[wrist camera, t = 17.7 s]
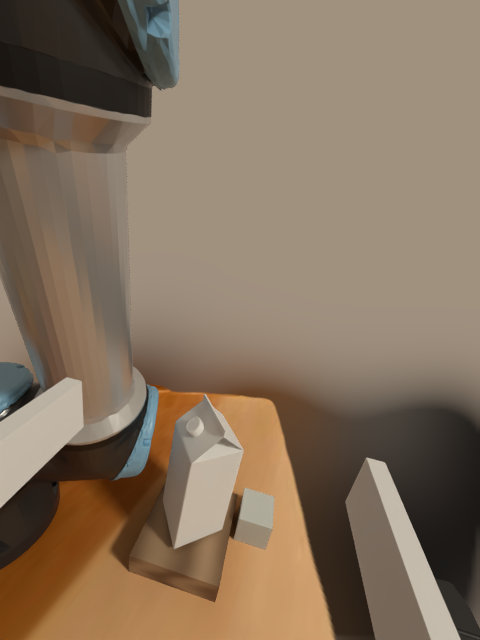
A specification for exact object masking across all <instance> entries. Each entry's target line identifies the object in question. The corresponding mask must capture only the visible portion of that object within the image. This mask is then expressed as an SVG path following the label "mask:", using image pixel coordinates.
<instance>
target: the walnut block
mask: <svg viewBox="0 0 480 640" xmlns="http://www.w3.org/2000/svg"><path fill="white" fill-rule="evenodd" d="M165 483H166V482H165ZM164 489H165V484H164V486H163V488H162V490H161V492H160V494H159V496H158V498H157V500H156V502H155V505H154V507H153V509H152V511H151V513H150V515H149V517H148V519H147V521H146V523H145V525H144V527H143V529H142V531H141V533H140V535H139V537H138V539H137V541H136V543H135V545H134V547H133V549H132V551H131V553H130V555H129V572H132V573H135V574H138V575H140V576H143V577H146V578H149V579H152V580H154V581H157V582H160V583H163V584H165V585H168V586H171V587H174V588H177V589H179V590H182V591H185V592H188V593H191V594H193V595H196V596H199V597H202V598H204V599H207V600H210V601H213V602H215V600H216V597H217V593H218V589H219V585H220V580H221V575H222V570H223V564H224V559H225V554H226V549H227V544H228V539H229V534H230V529H231V524H232V519H233V514H234V509H235V504H236V499H237V495H236V494H233V493H232V495H231V499H230V502H229V506H228V509H227V513H226V517H225V520H224V524H223V528H222V530H220V531H218V532H215V533H213V534H210V535H208V536H205V537H203V538H200V539H198V540H195V541H193V542H190V543H188V544H186V545H183V546H181V547H178V548H176V549H174V548H173V545H172V540H171V536H170V531H169V527H168V522H167V518H166V513H165V509H164V504H163V495H164Z"/></svg>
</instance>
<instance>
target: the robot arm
mask: <svg viewBox="0 0 480 640" xmlns="http://www.w3.org/2000/svg"><path fill="white" fill-rule="evenodd" d="M178 4H179V3H178V0H0V278H1V281H2V283H3V286H4V289H5V292H6V294H7V297H8V299H9V302H10V305H11V308H12V311H13V313H14V316H15V319H16V321H17V324H18V327H19V329H20V332H21V335H22V337H23V340H24V343H25V346H26V348H27V351H28V354H29V356H30V359H31V362H32V364H33V367H34V370H35V373H36V375H37V378H38V381H39V383H36V382H33V374H32V373H30V371H29V369H28V368H25V367H24V366H23V365H21V364H17V363H9V362H0V569H2V568H3V567H5V566H7V565H8V564H10V563H11V562H12V561H14V560H15V559H17V558H18V557H19V556H21V555H22V554H23V553H24V552H25V551H27V550H28V549H29V548H30V547H31V546H32V545H33V544H34V543H35V542H36V541H37V540H38V539H39V538H40V536H41V535H42V534H43V533H44V531H45V530H46V529H47V527H48V526H49V524H50V523H51V521H52V519H53V517H54V515H55V513H56V511H57V508H58V505H59V500H60V490H59V482H58V481H78V480H99V479H109V480H114V481H115V480H117V479H119V478H126V477H134V476H136V475H138V474H139V473H141V472H142V470H143V469H144V467H145V465H146V462H147V459H148V455H149V451H150V446H151V439H152V435H153V432H154V426H155V420H156V414H157V407H158V396H159V393H158V390H157V388H156V387H153V386H150V385H146V384H145V380H144V378H143V376H142V375H141V374H140V372H139V371H138V370H137V369H136V368H135V367H133V366H132V337H131V336H132V334H131V301H130V269H129V236H128V204H127V170H126V150H127V146H128V144H129V143H130V142H131V141H133V140H134V139H135V138H136V137H137V136H138V135H139V134H140V133H141V132H142V131H143V130H144V129H145V128H146V127H147V126H148V125H149V124H150V123H151V98H152V86H156V87H157V88H158V89H159V90H161V88H162V89H166V88H173V87H175V85H176V84H177V82H178V78H179V6H178ZM346 506H347V511H348V516H349V520H350V525H351V529H352V534H353V538H354V543H355V547H356V552H357V556H358V561H359V566H360V570H361V575H362V579H363V584H364V588H365V593H366V597H367V602H368V607H369V611H370V616H371V620H372V624H373V629H374V634H375V638H376V640H480V628H479V626H478V624H477V622H476V620H475V618H474V616H473V614H472V612H471V610H470V608H469V607H468V605H467V604H466V603H465V601H464V600H463V598H462V597H461V596H460V594H459V593H458V592H457V590H456V589H455V588H454V586H453V585H452V583H449V582H446V581H442V580H439V579H436V578H434V576H433V574H432V571H431V569H430V567H429V565H428V562H427V560H426V557H425V555H424V553H423V550H422V548H421V546H420V543H419V541H418V539H417V537H416V534H415V532H414V529H413V527H412V525H411V522H410V520H409V518H408V515H407V513H406V511H405V508H404V506H403V503H402V501H401V499H400V497H399V494H398V492H397V490H396V487H395V485H394V482H393V480H392V478H391V475H390V473H389V471H388V468H387V466H386V464H385V463H384V462H381V461H377V460H374V459H370V458H366V460H365V462H364V464H363V466H362V468H361V470H360V472H359V474H358V476H357V479H356V481H355V483H354V485H353V487H352V489H351V491H350V493H349V495H348V498H347V500H346Z"/></svg>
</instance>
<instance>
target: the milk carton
mask: <svg viewBox="0 0 480 640" xmlns="http://www.w3.org/2000/svg"><path fill="white" fill-rule="evenodd" d="M243 451H244V450H243V448H242V446H241V445H240V443H239V441H238V440H237V438H236V436H235V435H234V433H233V431H232V430H231V428H230V426H229V425H228V423H227V421H226V420H225V418H224V416H223V415H222V413H220V412H219V411H218V410H216V409H215V408H214V407H213V406H212V404H211V402H210V401H209V399H208V397H207V396H206V394H204V398H203V401H201V402H200V403H199V404H197V405H196V406H195V407H194V408H192V409H191V410H190V411H188V412H187V413H186V414H185V415H183V416H182V417H181V418H179V419H178V420H177V421H176V424H175V429H174V435H173V441H172V447H171V453H170V459H169V465H168V471H167V477H166V483H165V489H164V495H163V504H164V509H165V513H166V518H167V522H168V527H169V531H170V536H171V540H172V545H173V548H174V549H176V548H178V547H181V546H183V545H186V544H188V543H190V542H193V541H195V540H198V539H200V538H203V537H205V536H208V535H210V534H213V533H215V532H218V531H220V530H222V528H223V524H224V520H225V517H226V513H227V509H228V506H229V502H230V499H231V495H232V491H233V488H234V484H235V480H236V477H237V473H238V470H239V466H240V462H241V459H242V455H243Z"/></svg>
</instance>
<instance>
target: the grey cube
mask: <svg viewBox="0 0 480 640" xmlns="http://www.w3.org/2000/svg"><path fill="white" fill-rule="evenodd" d="M273 511H274V496H270V495H267V494H264V493H261V492H257V491H254V490H251V489H248V488H244V492H243V496H242V500H241V504H240V508H239V513H238V519H237V524H236V530H235V535H234V540H237V541H240V542H243V543H246V544H249V545H252V546H255V547H258V548H261V549H264V550H265V549H266V547H267V544H268V541H269V538H270V535H271V532H272V528H273Z"/></svg>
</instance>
